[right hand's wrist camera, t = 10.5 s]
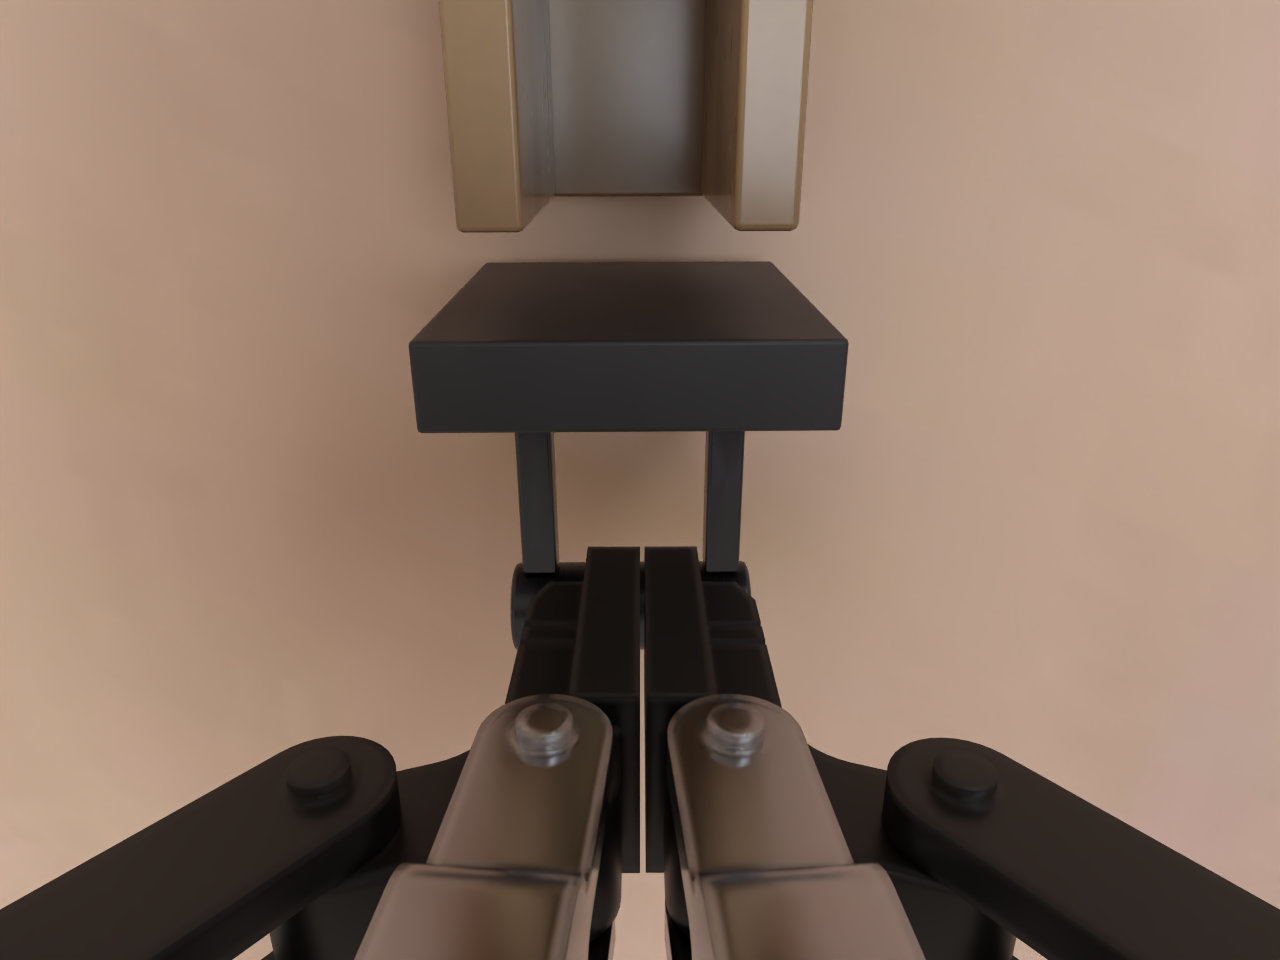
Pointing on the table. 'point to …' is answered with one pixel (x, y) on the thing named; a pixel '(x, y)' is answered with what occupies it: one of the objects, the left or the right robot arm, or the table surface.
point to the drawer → (626, 291)
